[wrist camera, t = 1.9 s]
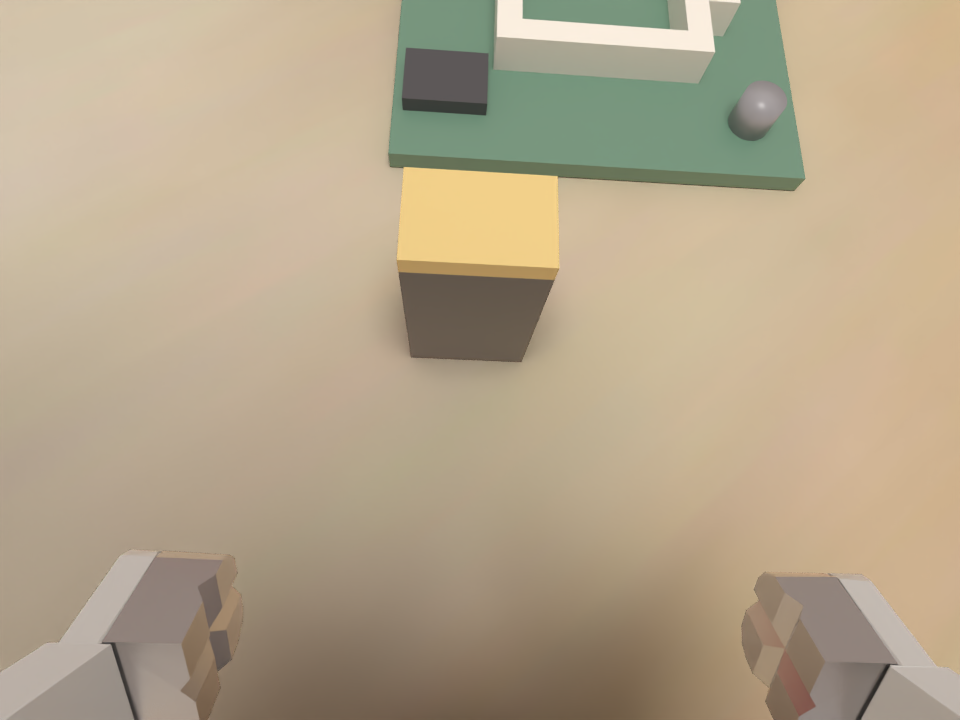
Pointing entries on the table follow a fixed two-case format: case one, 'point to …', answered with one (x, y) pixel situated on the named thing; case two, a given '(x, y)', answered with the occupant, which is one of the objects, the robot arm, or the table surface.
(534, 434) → the table surface
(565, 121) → the header board
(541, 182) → the plug
